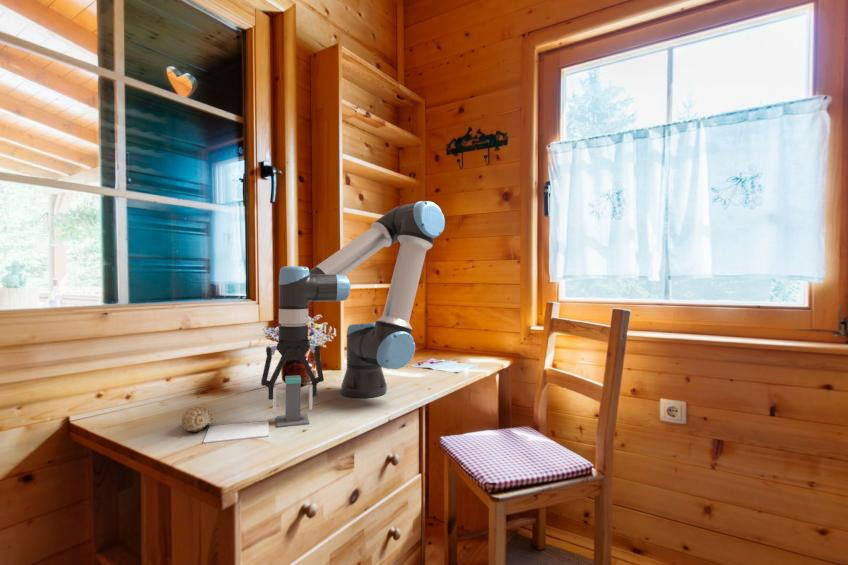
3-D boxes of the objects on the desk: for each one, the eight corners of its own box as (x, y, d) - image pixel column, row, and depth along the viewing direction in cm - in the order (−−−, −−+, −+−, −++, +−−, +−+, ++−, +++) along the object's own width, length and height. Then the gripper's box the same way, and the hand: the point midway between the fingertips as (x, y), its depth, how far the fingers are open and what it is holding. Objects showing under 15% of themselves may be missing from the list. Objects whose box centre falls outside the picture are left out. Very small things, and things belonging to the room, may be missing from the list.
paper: (268, 421, 114) (268, 420, 114) (268, 436, 104) (268, 435, 104) (209, 427, 109) (209, 426, 109) (203, 443, 99) (203, 442, 99)
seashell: (173, 443, 106) (196, 431, 102) (165, 420, 107) (188, 407, 103) (202, 432, 113) (224, 420, 109) (194, 410, 114) (216, 397, 110)
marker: (299, 416, 117) (300, 375, 117) (300, 420, 114) (301, 378, 114) (284, 417, 116) (285, 376, 116) (285, 422, 112) (285, 379, 112)
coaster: (306, 414, 120) (306, 413, 120) (309, 424, 113) (309, 422, 113) (276, 417, 117) (276, 416, 117) (276, 427, 110) (276, 425, 110)
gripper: (332, 322, 122) (331, 402, 122) (251, 324, 115) (250, 409, 115) (336, 325, 115) (335, 410, 115) (249, 327, 108) (248, 418, 108)
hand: (292, 409), depth 115 cm, fingers open, 8 cm apart
